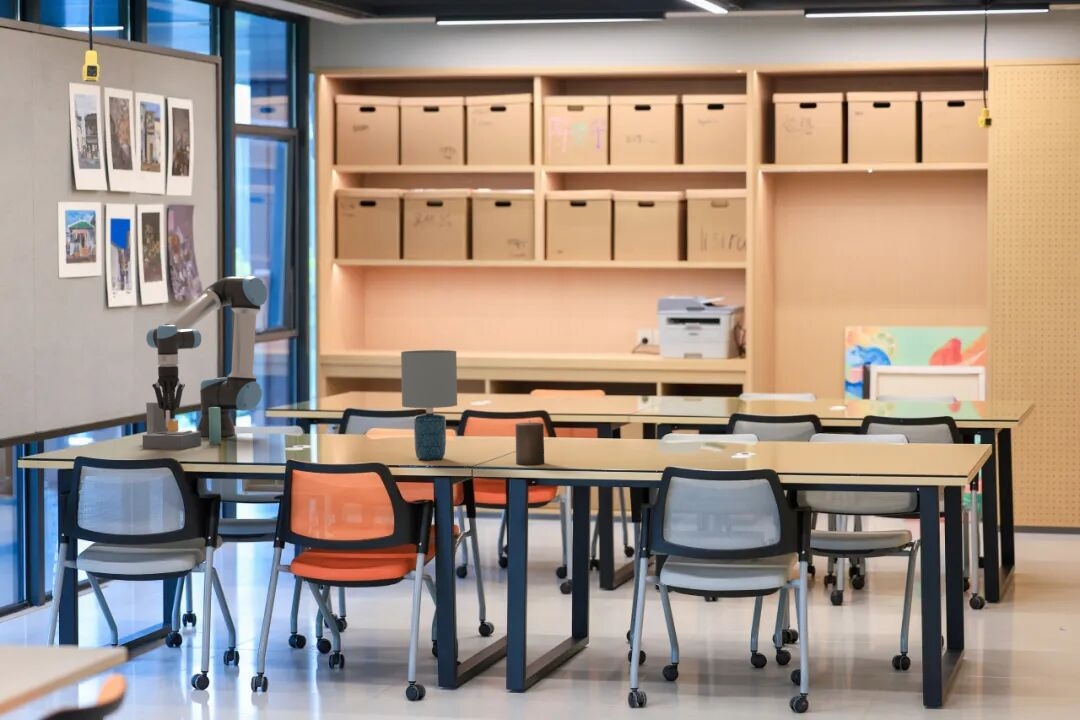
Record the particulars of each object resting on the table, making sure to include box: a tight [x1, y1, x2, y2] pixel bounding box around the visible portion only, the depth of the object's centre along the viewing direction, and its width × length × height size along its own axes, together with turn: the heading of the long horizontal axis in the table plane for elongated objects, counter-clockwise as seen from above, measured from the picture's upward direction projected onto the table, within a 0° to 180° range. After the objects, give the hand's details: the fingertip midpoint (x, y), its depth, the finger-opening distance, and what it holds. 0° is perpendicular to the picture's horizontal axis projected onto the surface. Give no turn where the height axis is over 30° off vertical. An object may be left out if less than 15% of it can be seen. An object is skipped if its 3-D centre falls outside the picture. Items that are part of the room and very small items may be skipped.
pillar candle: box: [514, 419, 545, 466], centre depth 539 cm, size 10×10×15 cm
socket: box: [141, 431, 202, 450], centre depth 606 cm, size 16×16×5 cm
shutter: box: [167, 419, 193, 434], centre depth 605 cm, size 7×7×5 cm
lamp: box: [400, 349, 458, 461], centre depth 555 cm, size 19×19×38 cm
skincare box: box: [145, 401, 168, 434], centre depth 623 cm, size 8×7×16 cm
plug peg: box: [208, 407, 222, 445], centre depth 614 cm, size 4×4×14 cm
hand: (169, 427), depth 606 cm, fingers closed
